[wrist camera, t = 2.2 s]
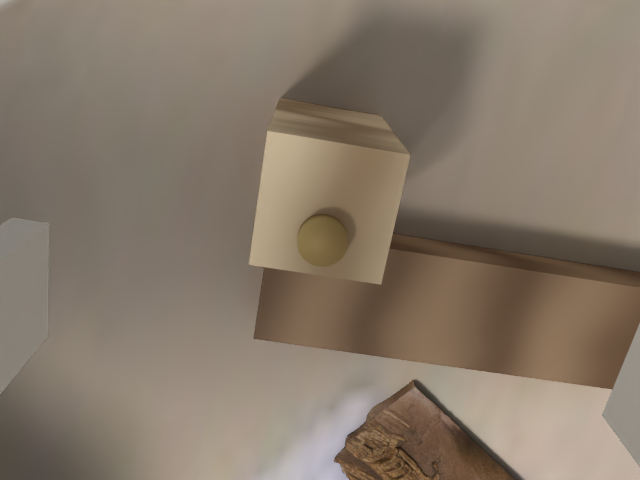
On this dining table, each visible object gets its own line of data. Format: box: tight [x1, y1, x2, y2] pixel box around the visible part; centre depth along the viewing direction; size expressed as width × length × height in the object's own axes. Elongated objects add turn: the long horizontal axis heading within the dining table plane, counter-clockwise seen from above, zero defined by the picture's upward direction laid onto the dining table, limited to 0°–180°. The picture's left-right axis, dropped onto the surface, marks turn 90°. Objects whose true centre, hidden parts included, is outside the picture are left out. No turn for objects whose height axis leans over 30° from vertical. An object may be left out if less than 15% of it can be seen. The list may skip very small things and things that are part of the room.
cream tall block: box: [249, 98, 411, 285], centre depth 25 cm, size 5×5×10 cm
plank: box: [254, 234, 640, 389], centre depth 30 cm, size 24×6×5 cm, turn 80°
